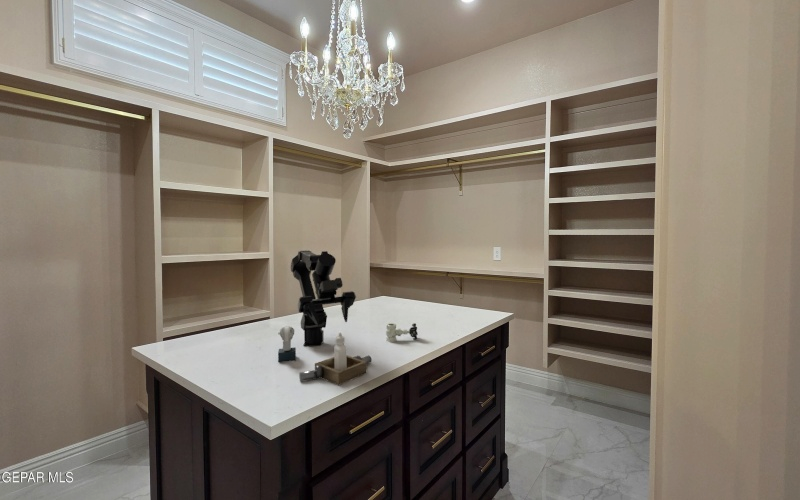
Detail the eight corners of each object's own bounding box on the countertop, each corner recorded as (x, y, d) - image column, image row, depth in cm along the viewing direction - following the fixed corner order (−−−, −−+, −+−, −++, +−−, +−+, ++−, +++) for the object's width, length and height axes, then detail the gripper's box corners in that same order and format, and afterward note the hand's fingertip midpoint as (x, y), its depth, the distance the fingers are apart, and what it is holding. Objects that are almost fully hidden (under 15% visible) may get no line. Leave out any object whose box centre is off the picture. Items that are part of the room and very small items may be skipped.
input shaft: (359, 369, 109) (359, 358, 109) (351, 366, 111) (351, 355, 111) (373, 363, 114) (373, 353, 114) (365, 361, 116) (365, 350, 116)
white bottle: (330, 375, 103) (330, 335, 103) (336, 368, 109) (335, 330, 108) (345, 376, 103) (344, 335, 102) (349, 368, 108) (349, 330, 108)
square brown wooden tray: (338, 385, 98) (338, 373, 98) (314, 375, 105) (314, 363, 105) (366, 373, 106) (366, 361, 106) (342, 364, 113) (342, 353, 113)
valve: (387, 343, 134) (417, 342, 137) (387, 327, 134) (417, 325, 136) (385, 338, 141) (414, 337, 143) (384, 322, 141) (414, 321, 143)
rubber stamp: (295, 354, 123) (295, 323, 122) (295, 362, 115) (295, 329, 115) (279, 355, 121) (278, 324, 121) (277, 364, 114) (277, 331, 113)
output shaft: (320, 375, 105) (320, 363, 105) (322, 379, 102) (322, 367, 101) (299, 378, 102) (298, 366, 102) (300, 383, 99) (300, 371, 99)
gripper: (298, 272, 112) (306, 314, 103) (353, 268, 120) (365, 306, 111) (294, 292, 119) (302, 332, 111) (346, 286, 128) (357, 324, 119)
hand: (332, 323), depth 113 cm, fingers open, 9 cm apart
